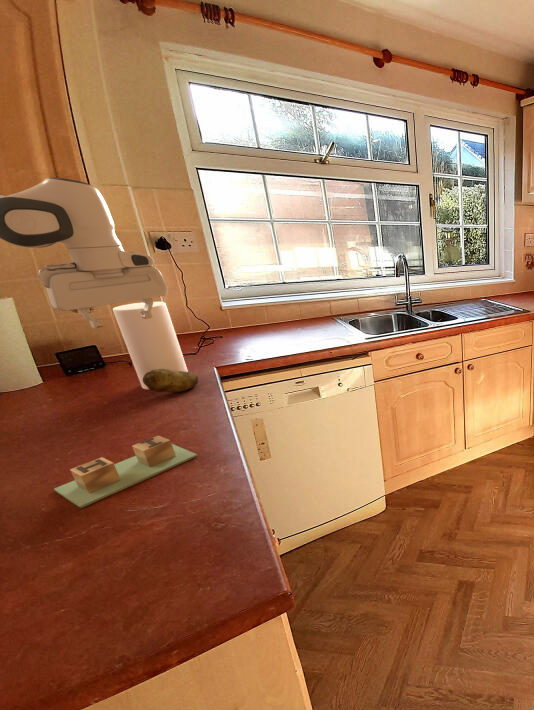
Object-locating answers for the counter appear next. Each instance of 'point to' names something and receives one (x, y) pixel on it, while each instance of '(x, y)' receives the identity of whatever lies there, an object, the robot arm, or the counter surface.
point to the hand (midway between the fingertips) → (123, 322)
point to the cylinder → (150, 339)
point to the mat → (123, 478)
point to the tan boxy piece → (154, 451)
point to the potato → (169, 380)
